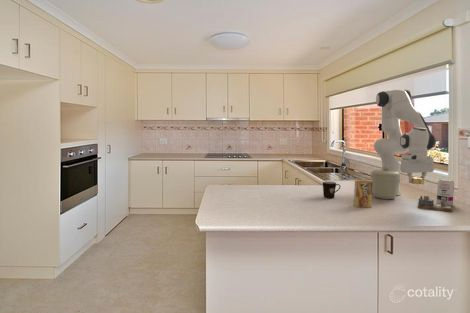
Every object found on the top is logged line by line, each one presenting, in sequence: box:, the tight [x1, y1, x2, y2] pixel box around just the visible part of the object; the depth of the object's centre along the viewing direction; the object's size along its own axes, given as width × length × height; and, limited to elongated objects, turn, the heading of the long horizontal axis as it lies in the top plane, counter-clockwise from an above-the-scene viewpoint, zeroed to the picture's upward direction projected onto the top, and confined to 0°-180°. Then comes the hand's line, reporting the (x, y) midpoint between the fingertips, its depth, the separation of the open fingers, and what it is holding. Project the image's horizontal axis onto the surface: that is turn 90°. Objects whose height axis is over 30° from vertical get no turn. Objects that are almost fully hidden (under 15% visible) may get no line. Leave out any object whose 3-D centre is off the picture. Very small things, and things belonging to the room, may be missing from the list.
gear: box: [418, 195, 435, 206], centre depth 176 cm, size 7×7×5 cm
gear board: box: [417, 195, 453, 213], centre depth 174 cm, size 16×10×6 cm, turn 60°
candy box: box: [353, 179, 373, 208], centre depth 176 cm, size 9×4×15 cm, turn 86°
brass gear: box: [408, 176, 425, 185], centre depth 173 cm, size 7×7×3 cm
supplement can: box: [436, 178, 455, 207], centre depth 183 cm, size 8×8×15 cm
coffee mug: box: [322, 180, 341, 200], centre depth 198 cm, size 12×9×10 cm
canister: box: [370, 166, 402, 200], centre depth 199 cm, size 18×18×21 cm
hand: (416, 180), depth 173 cm, fingers closed on brass gear, 6 cm apart
